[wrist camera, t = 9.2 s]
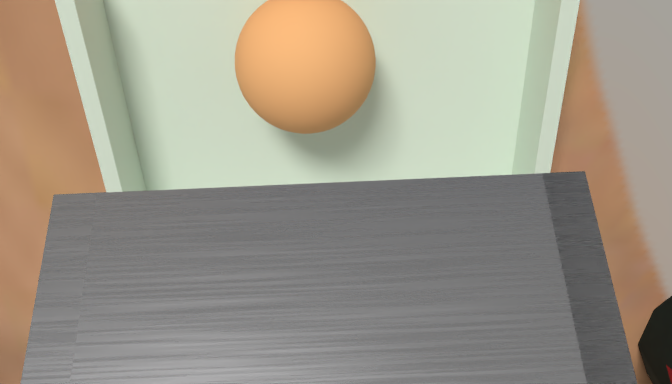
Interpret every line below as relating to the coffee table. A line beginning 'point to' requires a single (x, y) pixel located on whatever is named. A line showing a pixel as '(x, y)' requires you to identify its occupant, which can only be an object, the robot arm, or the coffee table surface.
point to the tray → (343, 140)
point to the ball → (305, 63)
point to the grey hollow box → (330, 285)
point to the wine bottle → (658, 344)
